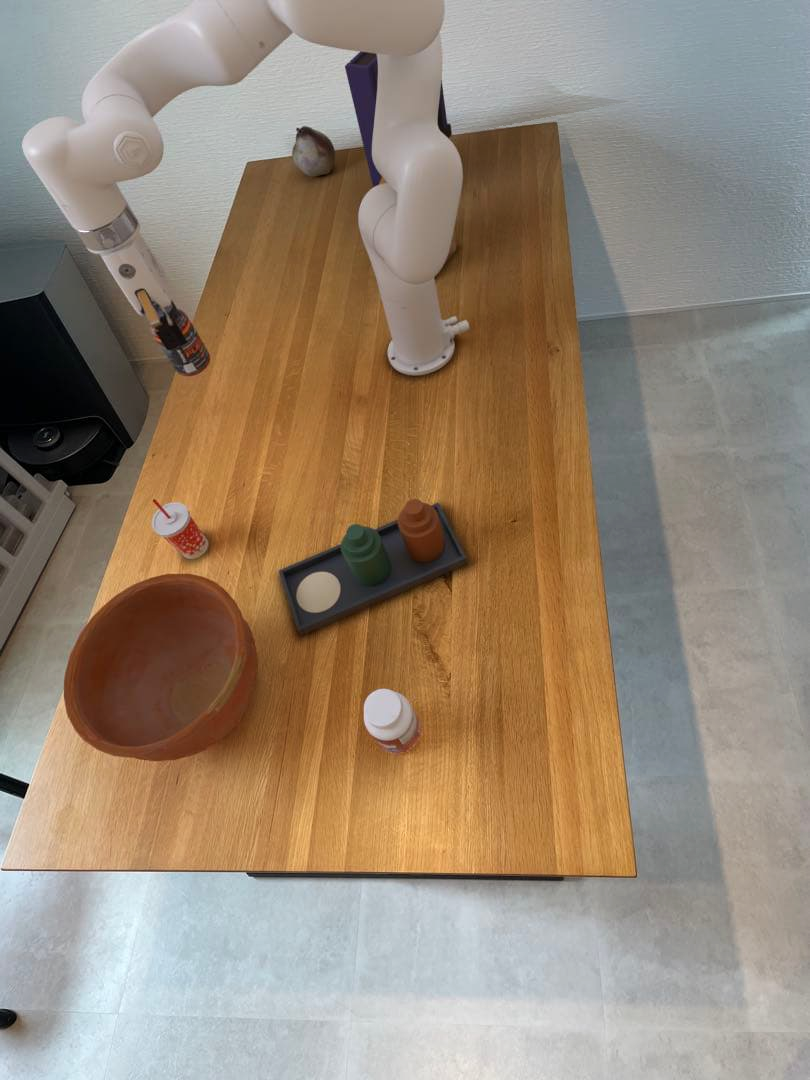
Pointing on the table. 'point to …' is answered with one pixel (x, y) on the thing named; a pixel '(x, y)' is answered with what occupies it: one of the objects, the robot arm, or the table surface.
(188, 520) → the beverage cup
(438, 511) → the tray
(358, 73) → the book
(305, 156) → the fruit
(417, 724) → the pill bottle
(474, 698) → the table surface
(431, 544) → the amber bottle
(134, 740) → the bowl
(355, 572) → the green bottle
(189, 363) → the supplement bottle
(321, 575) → the target spot
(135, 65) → the robot arm
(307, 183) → the table surface
